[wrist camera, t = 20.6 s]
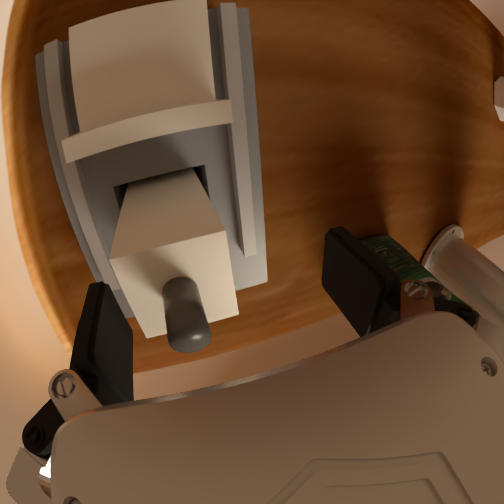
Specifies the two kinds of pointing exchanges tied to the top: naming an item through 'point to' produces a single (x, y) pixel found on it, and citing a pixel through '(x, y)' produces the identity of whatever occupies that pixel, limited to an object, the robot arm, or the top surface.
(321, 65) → the top surface
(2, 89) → the top surface
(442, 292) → the coffee jar
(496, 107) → the jar
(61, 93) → the socket block
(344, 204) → the top surface
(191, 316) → the plug
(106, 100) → the shutter
